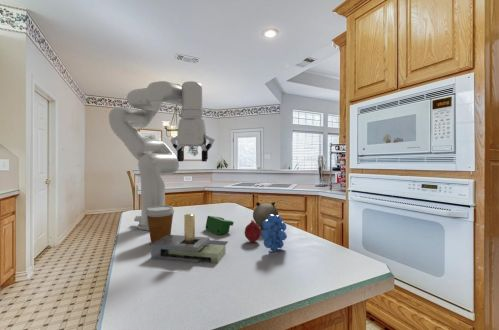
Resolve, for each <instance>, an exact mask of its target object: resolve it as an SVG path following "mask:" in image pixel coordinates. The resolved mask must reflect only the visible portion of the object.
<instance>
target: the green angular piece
mask: <svg viewBox="0 0 499 330" xmlns="http://www.w3.org/2000/svg"><path fill="white" fill-rule="evenodd" d="M231 226H234V221H233V220H228V219H225V218H224V217H220V216H213V215H207V217H206V222H205V230H206V231H208V232H210V233H212V234H214V235H217V236H224V235H225V233H228V232H230V228H231Z"/></svg>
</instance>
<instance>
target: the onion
mask: <svg viewBox="0 0 499 330" xmlns="http://www.w3.org/2000/svg"><path fill="white" fill-rule="evenodd" d="M261 232H262V231H261V229H260V227H259V225H258V224H257V223H256V222H255V221H254V219H251V221H250V223H248V224H247V225H246V227H245V229H244V236H245V238H246V239H247V240H248V241H249V242H250V243H252V244H253V243H255V242H257V241H258V240H260V238H261Z"/></svg>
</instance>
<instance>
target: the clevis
mask: <svg viewBox="0 0 499 330" xmlns="http://www.w3.org/2000/svg"><path fill="white" fill-rule="evenodd" d="M210 240H211V237H207V236H206V237H205V236H195V244H185V235H179V234H178V235H177V234H171V235H166V236H164V237H162V238H161V239H159V240H157V241H155V242H154V243H152V244H151V243H150V254H151V255H150V257H151V258H150V259H152V260H160V261H161V260H162V261H172V262H179V263H181V262H183V263H193V264H199V263H200V262H201V261H202V259H204V258H210V263H211V264H219V263H220V261H221V260H222V259H223V258H224V256H225V255H226V245H227V244H226V245H214V244H207V243H208V242H210Z"/></svg>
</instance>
